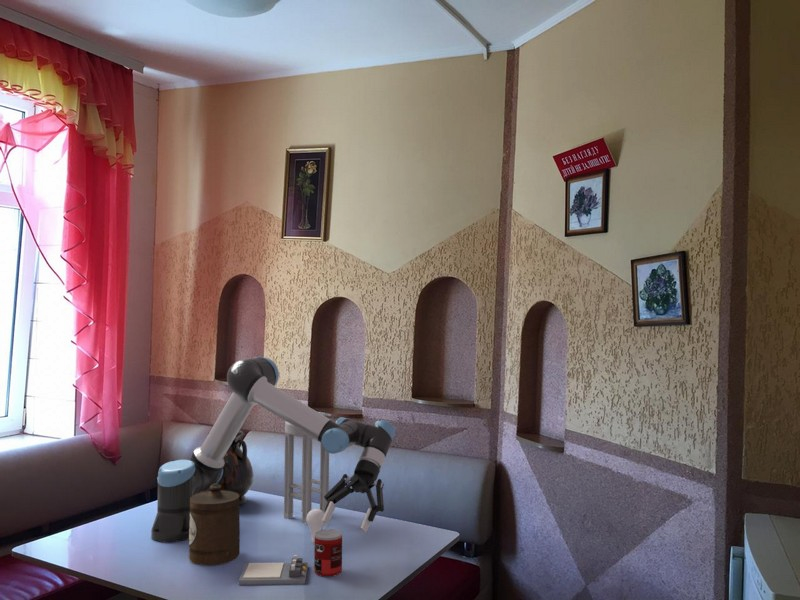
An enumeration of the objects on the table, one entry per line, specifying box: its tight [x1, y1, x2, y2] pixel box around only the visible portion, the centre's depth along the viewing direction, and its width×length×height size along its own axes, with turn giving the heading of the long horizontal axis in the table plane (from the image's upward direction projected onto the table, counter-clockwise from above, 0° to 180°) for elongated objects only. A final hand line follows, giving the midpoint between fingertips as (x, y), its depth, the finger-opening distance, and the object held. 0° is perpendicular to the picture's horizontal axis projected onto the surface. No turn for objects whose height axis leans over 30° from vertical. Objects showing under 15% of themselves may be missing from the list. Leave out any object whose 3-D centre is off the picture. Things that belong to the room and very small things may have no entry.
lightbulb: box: [306, 508, 325, 544], centre depth 212 cm, size 6×6×11 cm
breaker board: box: [238, 554, 309, 586], centre depth 186 cm, size 18×12×4 cm, turn 94°
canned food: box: [313, 528, 343, 577], centre depth 189 cm, size 8×8×11 cm
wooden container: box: [188, 483, 241, 566], centre depth 200 cm, size 15×15×22 cm
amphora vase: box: [201, 429, 254, 508], centre depth 252 cm, size 22×22×28 cm
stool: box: [283, 421, 330, 525], centre depth 239 cm, size 16×16×35 cm
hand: (343, 526), depth 194 cm, fingers open, 13 cm apart
